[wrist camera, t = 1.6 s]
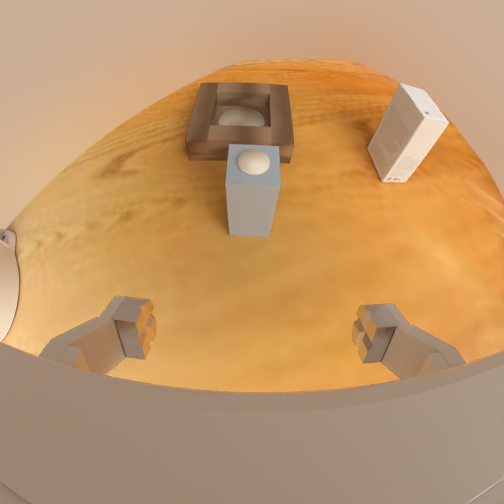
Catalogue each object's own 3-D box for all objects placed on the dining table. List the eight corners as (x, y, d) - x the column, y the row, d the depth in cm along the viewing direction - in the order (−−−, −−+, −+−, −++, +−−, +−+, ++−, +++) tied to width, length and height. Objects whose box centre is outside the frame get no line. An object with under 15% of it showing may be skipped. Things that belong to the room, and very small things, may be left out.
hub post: (229, 235, 28) (225, 181, 19) (231, 201, 29) (229, 141, 21) (269, 237, 28) (281, 183, 19) (268, 203, 29) (279, 143, 21)
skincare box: (405, 183, 32) (451, 124, 21) (380, 183, 31) (424, 117, 20) (389, 149, 34) (425, 89, 23) (365, 147, 33) (398, 81, 22)
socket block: (189, 160, 31) (185, 140, 28) (202, 101, 36) (200, 83, 32) (289, 163, 32) (294, 143, 28) (284, 103, 36) (287, 85, 33)
